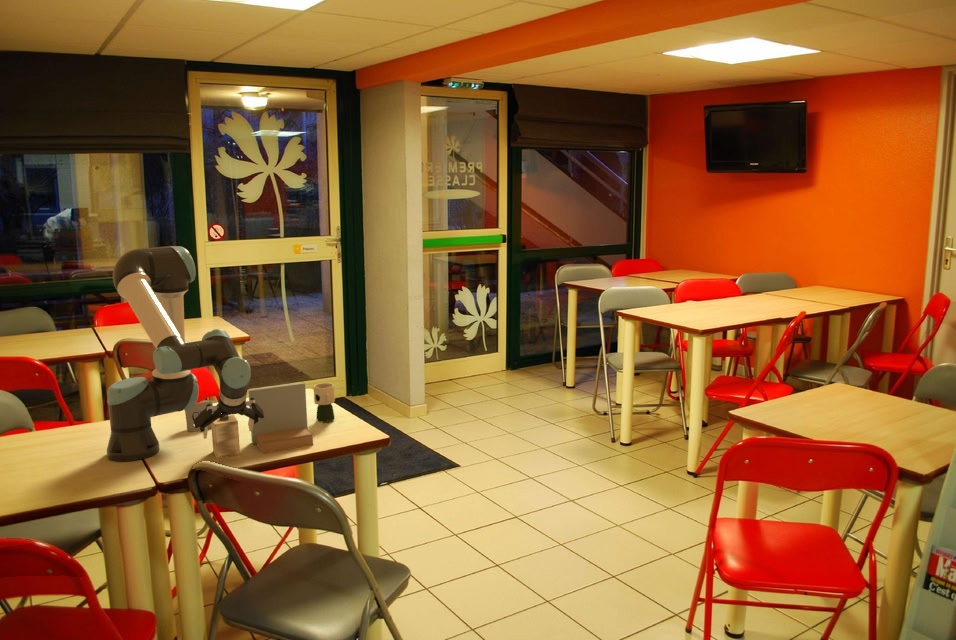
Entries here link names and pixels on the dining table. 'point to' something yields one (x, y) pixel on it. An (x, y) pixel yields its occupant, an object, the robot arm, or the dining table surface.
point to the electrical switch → (195, 415)
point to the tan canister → (225, 437)
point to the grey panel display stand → (281, 417)
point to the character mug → (324, 401)
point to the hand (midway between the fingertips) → (227, 431)
